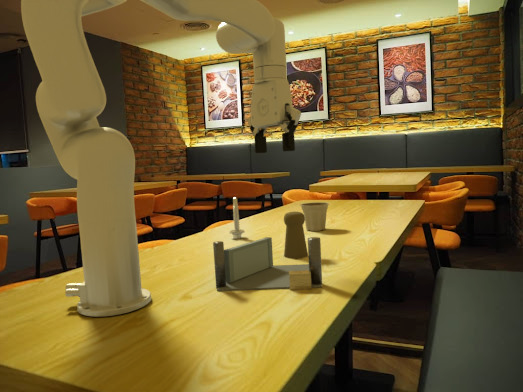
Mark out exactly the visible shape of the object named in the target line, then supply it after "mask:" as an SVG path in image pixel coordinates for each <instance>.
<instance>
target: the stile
mask: <svg viewBox="0 0 523 392" xmlns="http://www.w3.org/2000/svg"><path fill="white" fill-rule="evenodd" d="M321 245H322V244H321V237H318V236H312V237H308V238H307V252H308V256H307V257H308V264H309V270H305V271H289V278H290V288H289V290H290V291H297V290H300V291H301V290H312V289H313V288H311V284H313V285H318V284H322V285H323V273H322V272H323V271H322V270H323V267H322V250H321V249H322V247H321Z"/></svg>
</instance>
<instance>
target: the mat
mask: <svg viewBox="0 0 523 392" xmlns="http://www.w3.org/2000/svg"><path fill="white" fill-rule="evenodd" d="M305 270H309V263H307V264H278V265H273V266H272V267H269V268H266V269H264V270H261V271H259V272H256V273H253V274H251V275H248V276H246V277H243V278H241V279H238V280H235V281H234V282H231V283H229V282H226V286H225V287H222V288H216V291H217V292H218V291H219V292H220V291H222V292H224V291H225V292H227V291H253V290H255V291H256V290H257V291H258V290H279V289H280V290H281V289H282V290H283V289H290V278H289V271H305ZM322 287H323V283H322V284H318V285H313V284H311V288H312V289H313V288H317V289H318V288H322Z"/></svg>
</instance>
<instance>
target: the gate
mask: <svg viewBox="0 0 523 392" xmlns="http://www.w3.org/2000/svg"><path fill="white" fill-rule="evenodd" d="M224 259H225V274H226V282H229V283H231V282H234V281H235V280H238V279H241V278H243V277H246V276H248V275H251V274H253V273H256V272H259V271H261V270H264V269H266V268H269V267H272V266H274V257H273V239H272V237H267V236H266V237H263V238H261V239H257V240H253V241H251V242H250V241H249V242H247V243H243V244H240V245H239V244H238V245H236V246H233V247H229V248H224Z"/></svg>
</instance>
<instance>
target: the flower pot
mask: <svg viewBox="0 0 523 392" xmlns="http://www.w3.org/2000/svg"><path fill="white" fill-rule="evenodd" d="M329 205H330V203H329V202H324V201H323V202H317V201H316V202H315V201H313V202H304V203H301V204H300V207H301V211H302V213H303V215H304V217H305V221H304V224H305V229H306V231H311V232H320V231H322V230H323V231H324V230H326V224H327V223H326V222H327V211H328V208H329Z"/></svg>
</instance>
